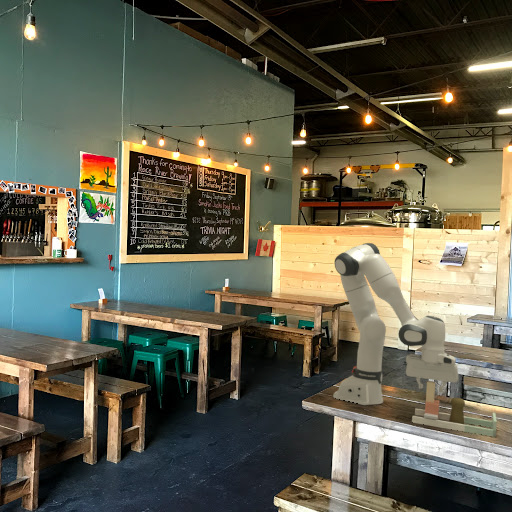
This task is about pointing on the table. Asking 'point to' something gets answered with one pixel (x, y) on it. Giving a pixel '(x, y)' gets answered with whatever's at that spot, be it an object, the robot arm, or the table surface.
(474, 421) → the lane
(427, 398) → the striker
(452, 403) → the olive rounded upright piece
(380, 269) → the robot arm
